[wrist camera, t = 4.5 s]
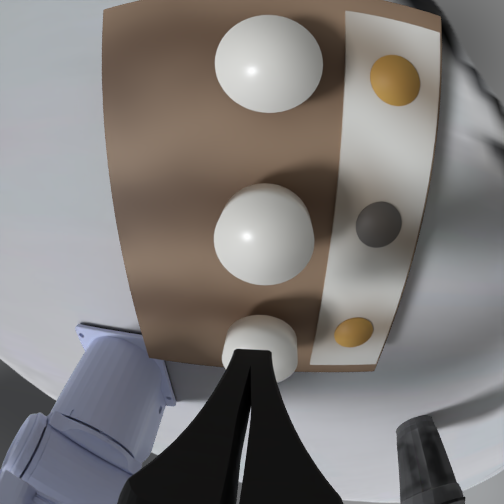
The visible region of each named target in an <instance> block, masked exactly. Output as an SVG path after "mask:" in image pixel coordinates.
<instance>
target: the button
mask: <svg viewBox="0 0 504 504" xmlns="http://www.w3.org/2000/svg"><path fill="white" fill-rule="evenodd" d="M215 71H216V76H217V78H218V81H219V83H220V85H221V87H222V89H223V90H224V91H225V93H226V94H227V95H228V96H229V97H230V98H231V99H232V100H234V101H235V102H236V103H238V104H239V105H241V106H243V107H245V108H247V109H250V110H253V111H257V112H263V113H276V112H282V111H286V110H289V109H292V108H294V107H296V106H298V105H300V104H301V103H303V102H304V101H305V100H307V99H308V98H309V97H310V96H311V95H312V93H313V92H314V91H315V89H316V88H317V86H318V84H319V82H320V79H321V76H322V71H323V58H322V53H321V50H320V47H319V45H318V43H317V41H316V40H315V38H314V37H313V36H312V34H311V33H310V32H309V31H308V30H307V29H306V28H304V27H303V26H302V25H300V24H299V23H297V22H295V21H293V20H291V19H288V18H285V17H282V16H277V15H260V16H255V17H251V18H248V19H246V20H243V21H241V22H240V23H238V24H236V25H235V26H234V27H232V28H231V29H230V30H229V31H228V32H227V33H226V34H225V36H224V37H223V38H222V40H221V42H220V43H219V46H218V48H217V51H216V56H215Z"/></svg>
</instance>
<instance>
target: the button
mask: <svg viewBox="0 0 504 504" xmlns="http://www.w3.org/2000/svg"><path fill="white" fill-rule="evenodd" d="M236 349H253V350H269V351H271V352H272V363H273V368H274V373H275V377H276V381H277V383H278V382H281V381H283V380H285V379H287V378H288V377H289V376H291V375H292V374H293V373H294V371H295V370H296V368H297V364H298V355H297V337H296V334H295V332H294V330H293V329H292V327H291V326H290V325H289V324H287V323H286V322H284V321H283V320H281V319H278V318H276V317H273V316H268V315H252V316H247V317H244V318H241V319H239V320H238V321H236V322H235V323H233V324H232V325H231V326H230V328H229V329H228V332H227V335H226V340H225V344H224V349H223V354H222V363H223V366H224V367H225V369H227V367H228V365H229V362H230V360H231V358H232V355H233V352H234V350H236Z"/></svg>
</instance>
